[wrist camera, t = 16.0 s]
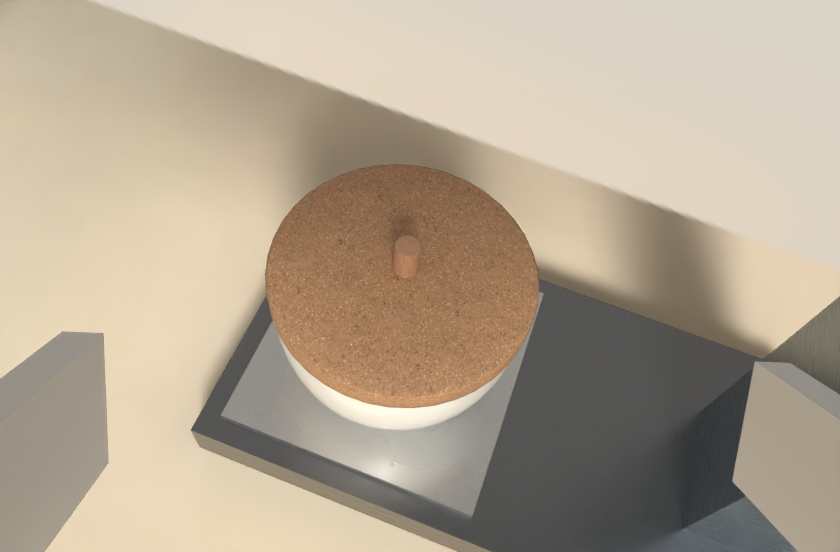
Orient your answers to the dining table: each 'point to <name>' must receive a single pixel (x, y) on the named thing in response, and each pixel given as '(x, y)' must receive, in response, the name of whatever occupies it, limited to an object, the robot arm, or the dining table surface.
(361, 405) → the lidded jar
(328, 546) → the dining table surface
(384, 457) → the arbor press
